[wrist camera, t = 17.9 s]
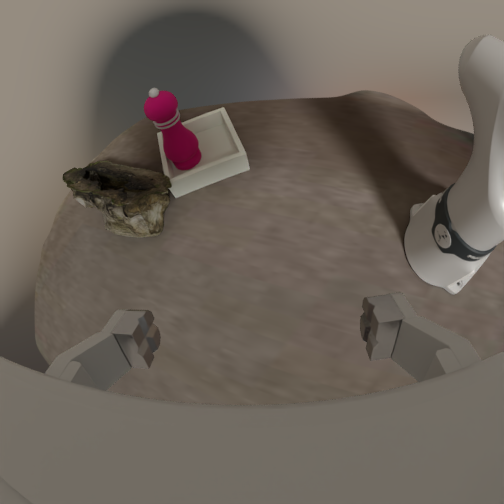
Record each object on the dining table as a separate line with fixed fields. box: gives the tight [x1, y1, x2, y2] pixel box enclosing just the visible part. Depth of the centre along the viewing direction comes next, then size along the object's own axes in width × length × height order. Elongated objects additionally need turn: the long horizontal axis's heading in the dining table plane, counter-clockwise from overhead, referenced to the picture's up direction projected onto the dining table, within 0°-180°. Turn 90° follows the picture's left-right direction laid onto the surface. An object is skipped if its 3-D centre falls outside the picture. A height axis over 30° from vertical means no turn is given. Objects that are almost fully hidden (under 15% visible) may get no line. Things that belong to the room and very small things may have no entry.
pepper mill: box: [144, 88, 201, 170], centre depth 45 cm, size 7×7×20 cm
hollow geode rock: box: [63, 161, 172, 238], centre depth 49 cm, size 28×13×15 cm
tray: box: [157, 107, 250, 198], centre depth 53 cm, size 16×16×5 cm
